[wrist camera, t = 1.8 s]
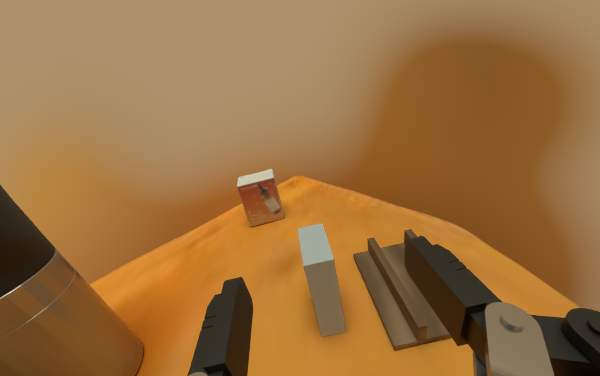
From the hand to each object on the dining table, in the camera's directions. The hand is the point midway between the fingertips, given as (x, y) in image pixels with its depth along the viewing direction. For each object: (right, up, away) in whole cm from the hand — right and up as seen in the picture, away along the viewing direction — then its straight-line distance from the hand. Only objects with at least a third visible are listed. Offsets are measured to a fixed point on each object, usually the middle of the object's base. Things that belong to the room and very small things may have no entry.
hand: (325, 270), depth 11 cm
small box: (-9, -3, +42) cm, 43 cm away
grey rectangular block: (+3, -12, +19) cm, 23 cm away
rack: (+14, -9, +20) cm, 26 cm away
